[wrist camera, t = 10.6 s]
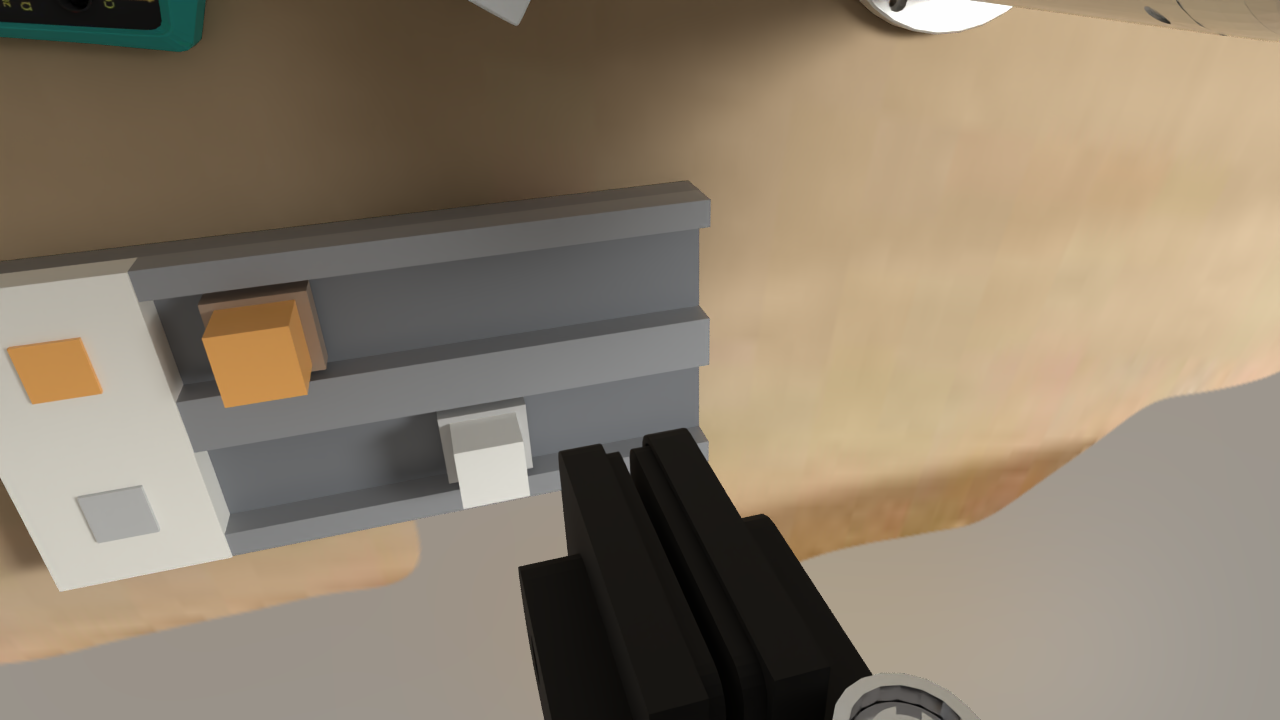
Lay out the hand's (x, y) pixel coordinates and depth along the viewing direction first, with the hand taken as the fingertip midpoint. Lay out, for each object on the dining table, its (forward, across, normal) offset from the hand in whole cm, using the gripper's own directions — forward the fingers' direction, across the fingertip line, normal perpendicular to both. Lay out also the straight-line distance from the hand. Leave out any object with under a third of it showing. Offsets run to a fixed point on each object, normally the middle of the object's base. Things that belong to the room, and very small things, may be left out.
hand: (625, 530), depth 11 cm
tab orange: (+25, +9, +7) cm, 28 cm away
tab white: (+25, +1, +14) cm, 29 cm away
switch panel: (+27, +5, +11) cm, 30 cm away
